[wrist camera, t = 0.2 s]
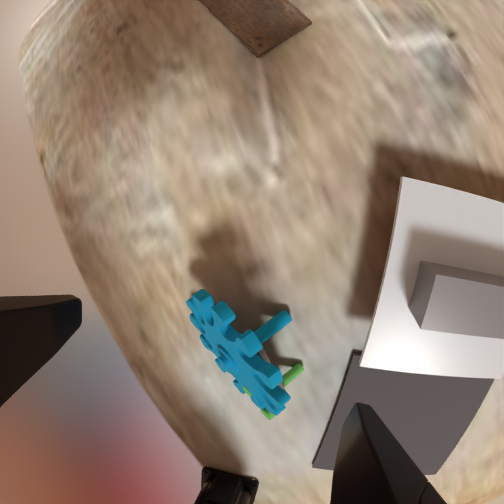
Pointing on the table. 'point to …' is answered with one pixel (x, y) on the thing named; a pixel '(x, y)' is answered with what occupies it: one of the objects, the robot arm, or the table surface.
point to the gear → (243, 352)
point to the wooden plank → (259, 21)
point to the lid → (441, 286)
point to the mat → (408, 411)
